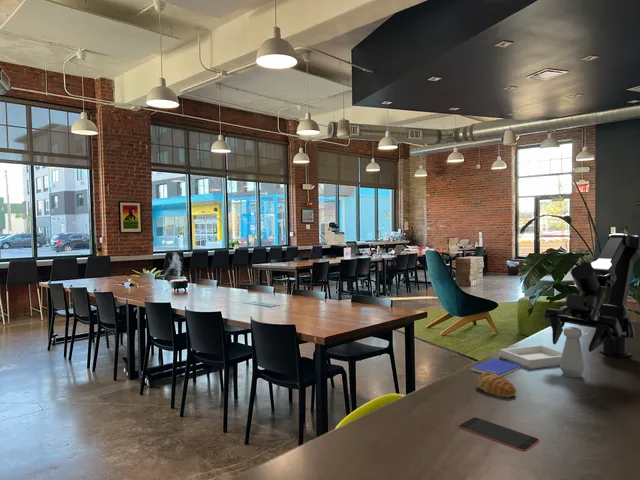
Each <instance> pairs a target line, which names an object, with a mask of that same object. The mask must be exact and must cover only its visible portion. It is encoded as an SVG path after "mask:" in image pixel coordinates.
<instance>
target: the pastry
mask: <svg viewBox="0 0 640 480" xmlns="http://www.w3.org/2000/svg"><path fill="white" fill-rule="evenodd" d="M476 386H477V387H478V388H479V389H480V390H481V391H484V392H485V393H487V394H491V395H493V396H496V397H500V398H503V397H504V398H511V397H513V396H516V393H517V389H516V387H515V386H514V384H512V383H511V382H510V380H506V378H505V377H503V376H501V377H500V376H499V375H492V374H491V373H488V372H487V373H483V374H482V373H481V375H479V376H478V378H477V381H476Z"/></svg>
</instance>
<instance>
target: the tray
mask: <svg viewBox="0 0 640 480" xmlns="http://www.w3.org/2000/svg"><path fill="white" fill-rule="evenodd" d="M501 350H502V351H501ZM562 354H563V351H562V350H558V349H555V348H552V347H549V346H546V345H542V344H537V345H528V346H520V347H519V346H518V347H508V348H500V349H499V358H500V357H501V358H500V359H503V360H505V359H506V360H505V361H507V362H509V363H513V364H518V365H520V367H523V368H525V369H528V370H531V369H539V368H546V367H556V366H560V362H561V358H562Z"/></svg>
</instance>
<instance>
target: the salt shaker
mask: <svg viewBox="0 0 640 480" xmlns="http://www.w3.org/2000/svg"><path fill="white" fill-rule="evenodd" d="M582 334H583V333H582V329H580V328H578V327H576V326H575V327H574V326H567V327H565V328H564V329H563V335H564V336H565V342H564V345H563V346H564V347H563V350H562V352H563V354H562V358H561V362H560V365H559V367H560V370H561V372H562V375H563V376H565V377H568V378H573V379H574V378H575V379H576V378H580V377H582V374H583V373H584V371H585V366H584V358H583V352H582V347H581V342H580V338H582Z"/></svg>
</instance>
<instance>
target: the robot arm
mask: <svg viewBox="0 0 640 480" xmlns="http://www.w3.org/2000/svg"><path fill="white" fill-rule="evenodd" d="M607 237H608V238H607V242H606V244H605V246H604V248H603V249H602V252H601V253H600V255H599V257H598V259H596V260H595V261H592V262H591V261H582V263H581V264H577V265H576V266H574V267H573V268H572V269H571V270H570V275H571V277H572V279H573V281H574V284H575V286H576V289H577V290H579V291H580V293H579V295H575V294H567V296H566V300H565V303H564V306H565V307H567V308H568V310H567V312H568V313H569V314H570V315H567V314H563V312H562V311H561V309H557V308H556V309H555V308H549V307H548V308H546V309H545V310H544V312H543V314H542V315H543V317H544V319H545V321H546V323H547V325H548V326H549V327H551V330H552V331H551V333H552V335H551V336H552V337H551V338H552V343H553V345H555V346H556V344H557V343H558V341H559V339H560V337H561V335H562V334H563V332H564V329H563V328H564V327H565V324H571V325H578V326H581V327H586V328H592V329H595V332H594V334H593V336H592V339H591V341H590V343H589V346H588V352H590V353H592V352H594V350H596V349H597V348H598V347H600V346H601V345H602V349H601V350H598V351H599V353H602V354H606V355H609V356H612V357H615V358H625V357H631V356H633V354H632V353H631V352H628V350H629V349H628V348H629V347H628V345H629V344H628V343H629V339H630V338H631V339H634V338H635V327H634V325H633V322H632V320H631V314H630V312H629V310H628V308H627V302H628V296H629V291H630V290H629V289H630V285H631V279H632V272H633V268H634V263H636V261H638V260H639V259H640V235H630V234H627V233H611V234H608V236H607ZM605 288H610V293H609V297H608V298H609V299H608V301H607V302H606V303H605V304H603V303H602V302H603V301H605V300H606V296H605V294H606V291H605ZM599 309H600V310H599ZM596 318H597V320H596Z"/></svg>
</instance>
